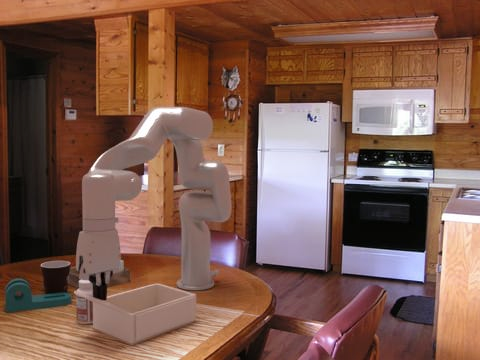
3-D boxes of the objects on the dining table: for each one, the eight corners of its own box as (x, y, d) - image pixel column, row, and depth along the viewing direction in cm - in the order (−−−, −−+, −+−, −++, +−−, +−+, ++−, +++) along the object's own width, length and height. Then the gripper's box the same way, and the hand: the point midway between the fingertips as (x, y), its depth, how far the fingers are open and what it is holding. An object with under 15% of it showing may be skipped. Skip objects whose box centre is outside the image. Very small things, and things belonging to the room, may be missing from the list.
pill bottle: (99, 315, 146) (98, 276, 145) (101, 323, 140) (101, 282, 139) (75, 318, 144) (75, 278, 143) (76, 325, 138) (76, 284, 137)
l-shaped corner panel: (104, 275, 187) (104, 254, 186) (123, 282, 179) (123, 261, 178) (73, 282, 178) (72, 260, 178) (92, 289, 170) (92, 267, 169)
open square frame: (100, 272, 191) (100, 261, 190) (130, 281, 180) (130, 269, 180) (59, 281, 178) (59, 270, 177) (88, 291, 167) (88, 279, 167)
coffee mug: (61, 301, 158) (61, 268, 157) (35, 299, 159) (34, 266, 158) (80, 290, 169) (80, 259, 168) (56, 288, 171) (55, 257, 170)
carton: (157, 307, 154) (157, 282, 153) (199, 321, 143) (199, 294, 142) (91, 328, 137) (90, 300, 136) (133, 346, 126) (133, 315, 125)
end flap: (92, 299, 135) (74, 290, 130) (128, 312, 125) (110, 303, 121) (91, 301, 134) (73, 292, 130) (127, 314, 125) (109, 305, 121)
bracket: (6, 313, 147) (5, 285, 147) (5, 306, 153) (4, 279, 153) (73, 305, 155) (72, 279, 154) (69, 298, 161) (69, 273, 160)
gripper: (115, 219, 134) (115, 289, 136) (62, 227, 122) (63, 303, 124) (134, 222, 129) (134, 295, 131) (81, 231, 118) (82, 311, 119)
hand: (100, 299), depth 128 cm, fingers closed
